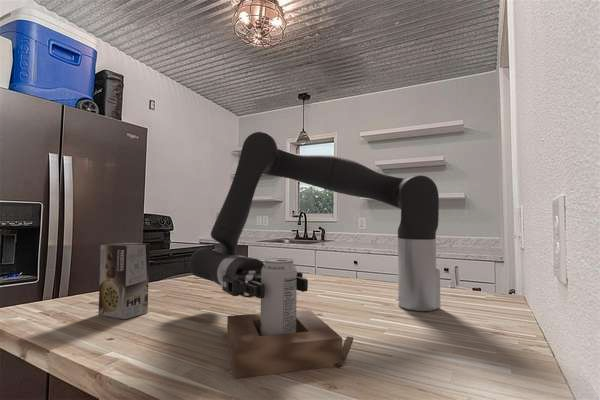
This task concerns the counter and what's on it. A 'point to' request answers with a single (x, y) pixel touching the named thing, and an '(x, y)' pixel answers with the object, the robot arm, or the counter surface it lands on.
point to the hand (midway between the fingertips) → (285, 288)
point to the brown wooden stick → (344, 351)
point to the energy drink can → (278, 297)
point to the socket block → (281, 346)
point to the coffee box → (124, 280)
